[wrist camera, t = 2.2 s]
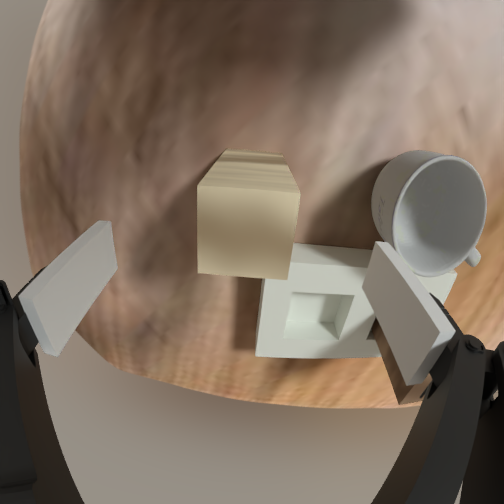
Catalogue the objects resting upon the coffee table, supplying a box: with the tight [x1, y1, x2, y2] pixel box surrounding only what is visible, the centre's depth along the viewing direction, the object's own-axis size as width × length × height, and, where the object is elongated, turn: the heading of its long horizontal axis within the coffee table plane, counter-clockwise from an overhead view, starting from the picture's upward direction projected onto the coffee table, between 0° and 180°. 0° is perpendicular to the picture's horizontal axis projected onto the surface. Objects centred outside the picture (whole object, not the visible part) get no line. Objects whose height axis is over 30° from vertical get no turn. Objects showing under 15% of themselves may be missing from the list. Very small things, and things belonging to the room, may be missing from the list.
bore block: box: [255, 243, 457, 358], centre depth 31 cm, size 13×22×4 cm, turn 86°
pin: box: [197, 149, 301, 280], centre depth 20 cm, size 5×5×13 cm
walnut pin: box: [371, 318, 432, 405], centre depth 26 cm, size 5×5×13 cm
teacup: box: [371, 150, 487, 277], centre depth 23 cm, size 14×11×8 cm
